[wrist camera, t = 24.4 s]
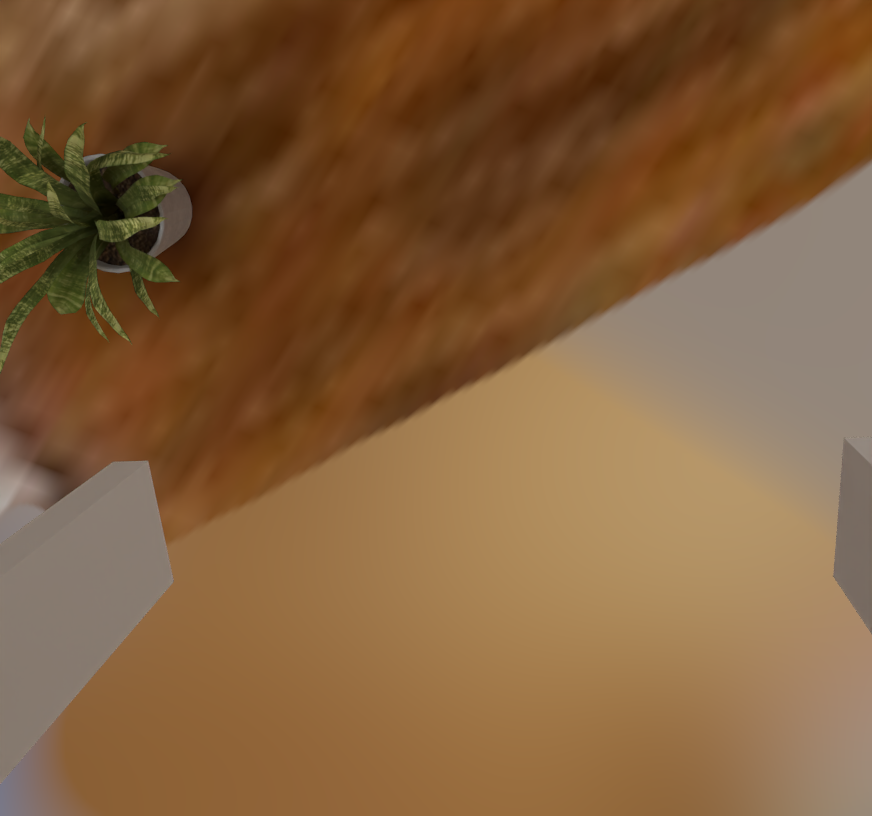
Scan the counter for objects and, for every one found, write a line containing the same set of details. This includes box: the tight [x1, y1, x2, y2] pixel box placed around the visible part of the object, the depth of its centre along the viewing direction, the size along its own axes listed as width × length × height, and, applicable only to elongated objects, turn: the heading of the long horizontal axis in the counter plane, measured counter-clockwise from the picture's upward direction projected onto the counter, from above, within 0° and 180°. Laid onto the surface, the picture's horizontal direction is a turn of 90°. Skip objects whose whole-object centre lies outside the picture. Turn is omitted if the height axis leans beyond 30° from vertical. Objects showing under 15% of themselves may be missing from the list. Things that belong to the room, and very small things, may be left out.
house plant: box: [0, 117, 192, 373], centre depth 46 cm, size 14×14×16 cm
